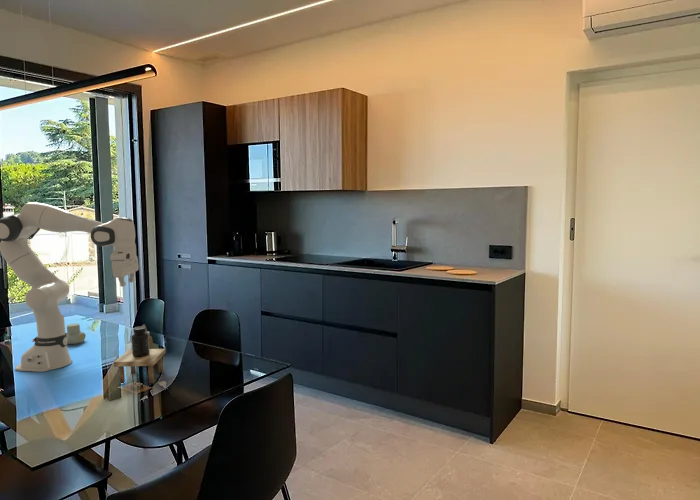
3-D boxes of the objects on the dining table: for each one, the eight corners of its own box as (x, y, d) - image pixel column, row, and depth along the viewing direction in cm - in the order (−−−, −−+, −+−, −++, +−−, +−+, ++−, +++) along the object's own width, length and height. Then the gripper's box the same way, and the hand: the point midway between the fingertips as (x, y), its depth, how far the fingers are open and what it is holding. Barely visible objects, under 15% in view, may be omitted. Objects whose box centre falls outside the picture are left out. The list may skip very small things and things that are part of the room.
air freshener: (76, 346, 258) (74, 327, 257) (60, 346, 258) (59, 327, 257) (87, 339, 269) (86, 322, 268) (72, 339, 269) (71, 321, 268)
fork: (173, 405, 193) (173, 398, 193) (153, 384, 208) (153, 377, 208) (180, 403, 195) (180, 396, 194) (160, 382, 210) (160, 376, 210)
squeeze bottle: (148, 365, 229) (146, 327, 226) (133, 364, 230) (130, 327, 228) (158, 359, 236) (156, 323, 234) (143, 358, 238) (141, 322, 236)
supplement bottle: (145, 351, 219) (143, 324, 217) (152, 354, 214) (150, 327, 212) (129, 355, 214) (128, 327, 212) (136, 358, 209) (134, 331, 207)
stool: (115, 385, 206) (113, 362, 205) (130, 371, 222) (129, 349, 221) (154, 384, 207) (153, 361, 206) (166, 370, 223) (165, 348, 222)
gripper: (127, 250, 231) (129, 279, 232) (108, 256, 210) (110, 288, 212) (141, 250, 231) (142, 279, 233) (123, 256, 211) (125, 288, 212)
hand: (127, 284), depth 222 cm, fingers open, 8 cm apart
